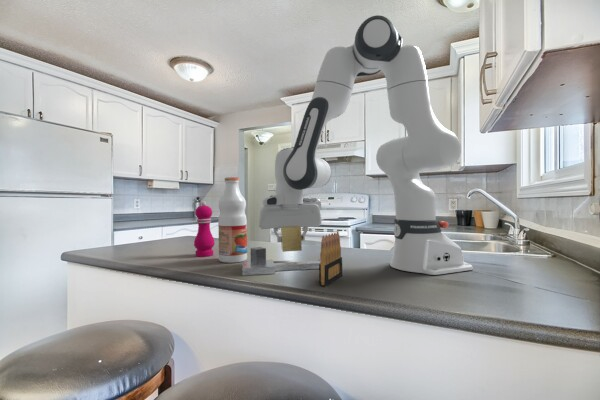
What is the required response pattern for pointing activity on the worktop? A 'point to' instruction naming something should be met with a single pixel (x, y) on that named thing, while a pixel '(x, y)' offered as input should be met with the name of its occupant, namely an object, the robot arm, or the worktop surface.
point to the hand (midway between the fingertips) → (291, 241)
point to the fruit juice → (232, 223)
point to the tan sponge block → (291, 239)
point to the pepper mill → (204, 231)
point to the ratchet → (272, 264)
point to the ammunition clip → (330, 260)
